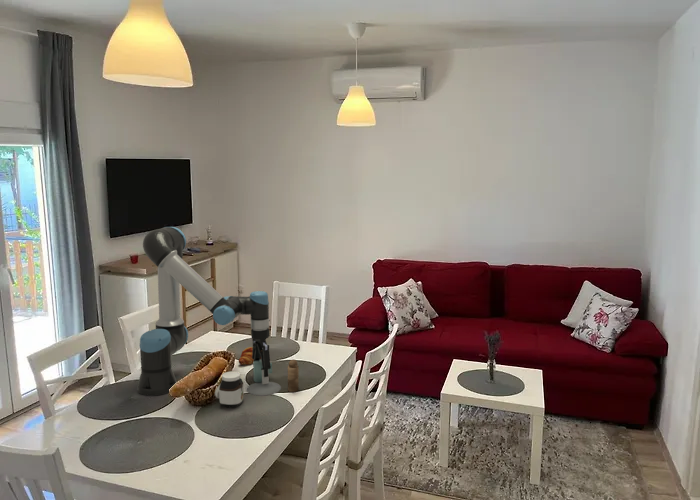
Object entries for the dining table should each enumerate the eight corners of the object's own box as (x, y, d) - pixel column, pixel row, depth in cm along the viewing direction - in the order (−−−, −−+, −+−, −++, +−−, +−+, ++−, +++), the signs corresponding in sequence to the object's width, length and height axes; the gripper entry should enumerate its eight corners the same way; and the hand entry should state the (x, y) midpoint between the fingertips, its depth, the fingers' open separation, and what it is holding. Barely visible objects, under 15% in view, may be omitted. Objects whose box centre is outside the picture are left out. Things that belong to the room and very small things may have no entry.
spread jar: (235, 410, 202) (235, 380, 201) (207, 407, 205) (206, 377, 203) (248, 397, 214) (247, 368, 212) (221, 394, 216) (220, 366, 215)
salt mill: (290, 392, 218) (290, 362, 216) (286, 389, 222) (285, 359, 220) (300, 390, 220) (300, 360, 219) (295, 387, 224) (295, 357, 222)
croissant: (260, 359, 267) (253, 344, 267) (275, 352, 263) (268, 337, 264) (235, 373, 248) (228, 357, 248) (251, 365, 244) (244, 349, 244)
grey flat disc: (253, 398, 213) (253, 397, 213) (241, 385, 225) (241, 385, 225) (286, 391, 220) (286, 390, 220) (273, 379, 232) (273, 379, 232)
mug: (256, 383, 227) (256, 364, 226) (251, 379, 232) (251, 361, 231) (274, 380, 231) (274, 361, 230) (269, 376, 236) (268, 358, 235)
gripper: (278, 333, 220) (279, 386, 223) (259, 321, 238) (261, 371, 241) (260, 335, 216) (262, 390, 219) (243, 323, 235) (245, 374, 238)
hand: (261, 380), depth 230 cm, fingers open, 8 cm apart
